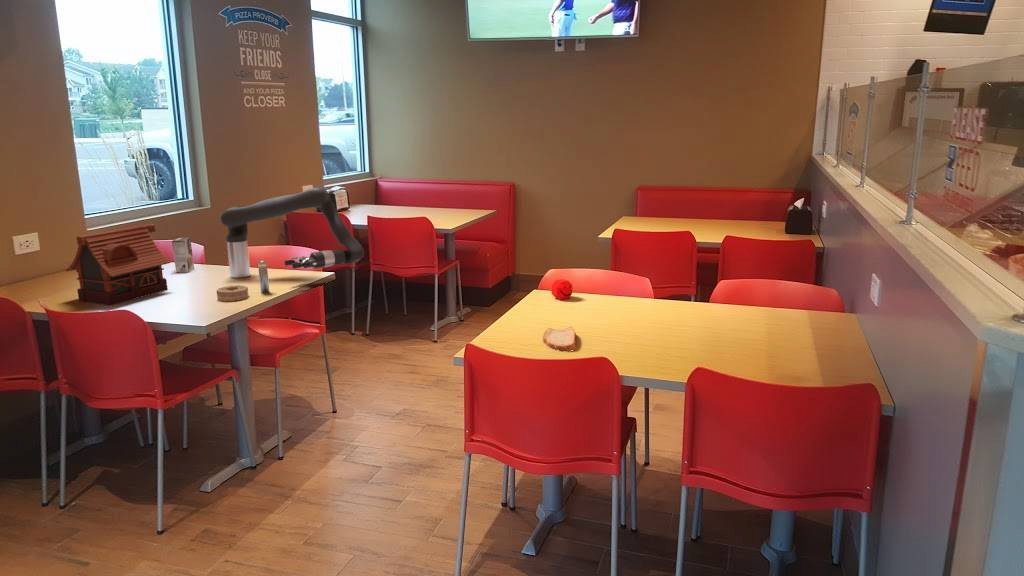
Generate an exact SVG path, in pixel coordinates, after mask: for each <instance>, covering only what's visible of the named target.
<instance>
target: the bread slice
mask: <svg viewBox="0 0 1024 576" xmlns="http://www.w3.org/2000/svg"><path fill="white" fill-rule="evenodd" d="M542 343H543V344H544V345H545V344H546V345H547V346H548V348H549V347H550V348H549V349H551V348H552V349H551V350H554V349H555V350H554V351H557V350H559V351H558V352H563V351H571V350H574V349H575V350H576V348H577V334H576V330H575V329H574V328H573V326H570V327H569V326H568V327H564V328H561V329H555V328H550V327H548V328H547V329H546V330H545V331H544V332H543V336H542ZM546 345H545V346H546ZM547 346H546V347H547ZM575 350H574V351H575ZM571 352H572V351H571Z"/></svg>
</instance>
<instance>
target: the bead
mask: <svg viewBox="0 0 1024 576" xmlns="http://www.w3.org/2000/svg"><path fill="white" fill-rule="evenodd" d="M216 297H217V300H218V299H219V301H220V300H222V301H221V302H236V301H235V300H237V301H242V300H245V299H248V297H249V288H248V286H246V285H240V284H239V285H238V284H234V285H226V286H221V287H219V288H217V289H216Z"/></svg>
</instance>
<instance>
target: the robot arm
mask: <svg viewBox="0 0 1024 576" xmlns="http://www.w3.org/2000/svg"><path fill="white" fill-rule="evenodd" d="M310 208H318V209H319V210H320V212H321V213H322V214H323V215H324V217H325V218H326V221H327V223H328V226H329V228H330V231H331V232H332V234H333V236H334V237H335V239H336V241H337V242H338V244H339V245H340V246H343V247H345V248H346V249H345V250H342V249H340V248H338V249H330V250H320V251H314V252H311V253H310V255H309V257H308V256H299V257H292V258H291V259H287V260H284V261H283V262H284V266H286V267H287V266H291V267H292V269H299V268H302V269H308V268H312V269H315V270H316V269H322V268H328V267H331V266H336V265H337V266H338V265H341V264H343V265H345V264H346V265H350V264H356V263H357V262H359V261H360V260H361V259H362V258H364V256H365V250H364V247H363V245H362V244H360V242H359V241H358V240H357V239H356V238H355V237H353V235H352V233H351V231H349V229H348V227H347V225H346V224H345V223H344V221H343V220H342V218H341V217H340V214H339V212H338V211H337V209H336V206H335V204H334V203H333V200H332V198H331V196H330V193H329V191H328V190H327V189H326V188H323V187H318V186H317V187H312V188H310V189H307V190H304V191H301V192H298V193H295V194H294V193H293V194H287V195H280V196H275V197H271V198H267V199H264V200H261V201H258V202H255V203H253V204H251V205H248V206H243V207H240V206H232V207H230V208H226V209H225V210H224V211H222V214H221V216H220V222H221V223H222V224H223V225H224V226H225V227H226V228H228V231H227V234H226V236H225V240H226V248H227V249H226V250H227V256H228V267H229V276H230V278H237V279H238V278H246V277H249V276H251V266H250V257H249V248H248V230H249V229H248V223H251V222H256V221H257V222H258V221H264V220H270V219H271V220H272V219H275V218H279V217H283V216H286V215H289V214H292V213H294V212H296V211H299V210H304V209H310Z"/></svg>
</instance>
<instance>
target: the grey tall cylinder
mask: <svg viewBox="0 0 1024 576" xmlns="http://www.w3.org/2000/svg"><path fill="white" fill-rule="evenodd" d="M267 262H268V261H267V260H258V261H257V267H258V268H257V269H258V276H259V286H260V293H261V294H269V293H270V284H269V273H268V263H267Z"/></svg>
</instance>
